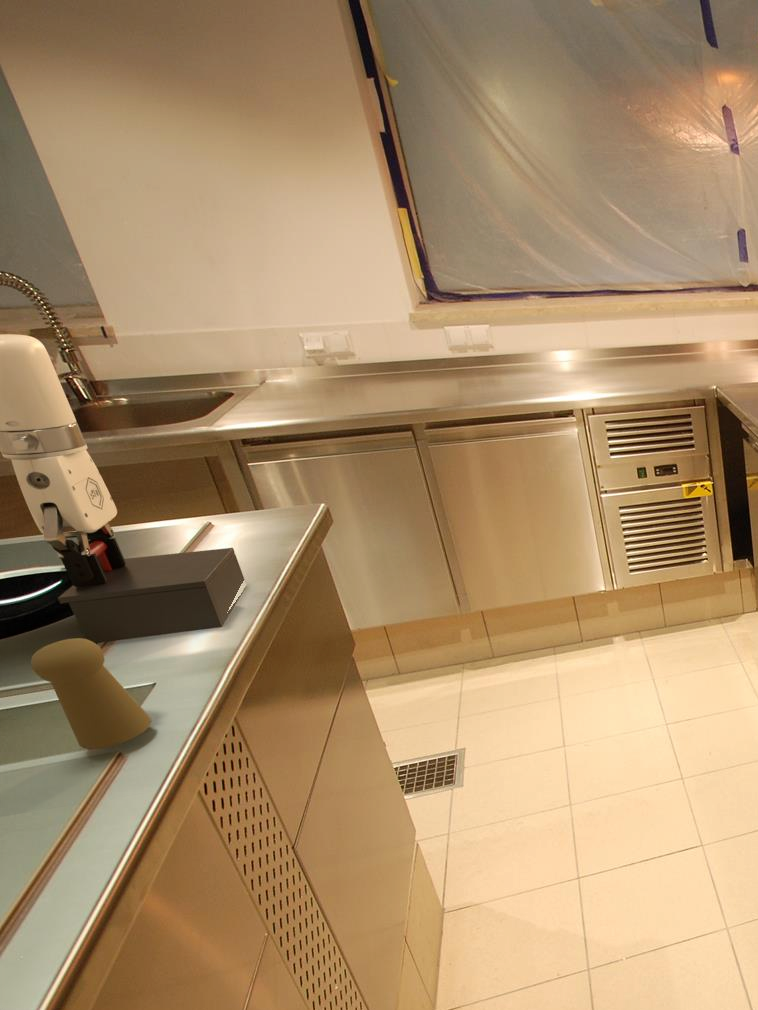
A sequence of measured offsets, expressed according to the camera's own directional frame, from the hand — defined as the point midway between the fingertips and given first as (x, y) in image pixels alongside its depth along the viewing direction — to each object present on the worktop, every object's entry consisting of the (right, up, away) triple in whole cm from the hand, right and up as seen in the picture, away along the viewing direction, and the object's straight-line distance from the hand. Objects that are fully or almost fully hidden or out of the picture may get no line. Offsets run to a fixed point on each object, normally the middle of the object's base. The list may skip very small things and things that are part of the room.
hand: (100, 574), depth 111 cm
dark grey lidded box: (+5, -6, +6) cm, 10 cm away
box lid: (+5, 0, +3) cm, 5 cm away
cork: (+23, -19, -21) cm, 36 cm away
